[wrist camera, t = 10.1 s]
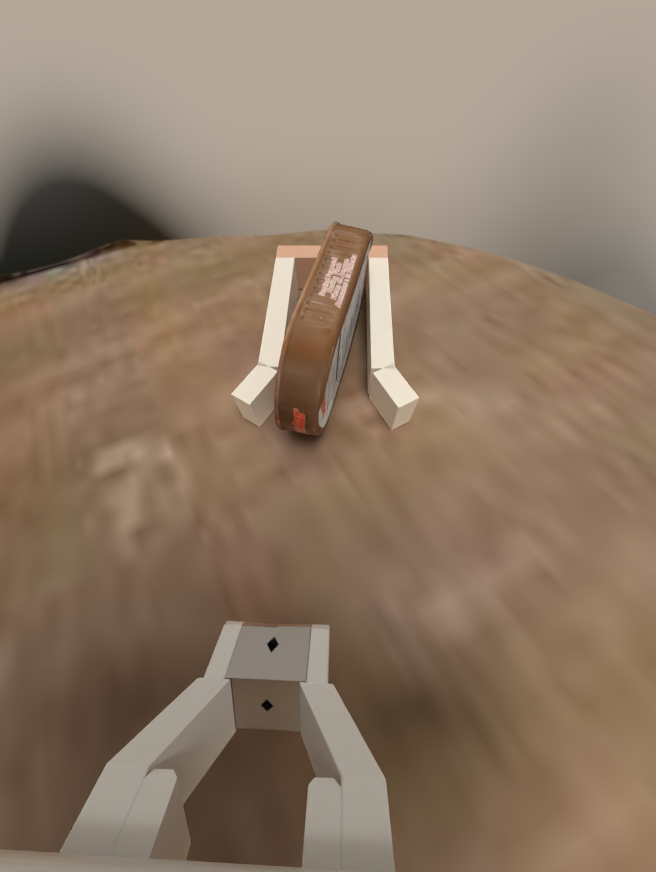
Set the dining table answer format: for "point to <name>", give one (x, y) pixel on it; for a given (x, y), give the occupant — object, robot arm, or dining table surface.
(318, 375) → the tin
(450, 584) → the dining table surface
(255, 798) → the dining table surface
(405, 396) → the guide channel
